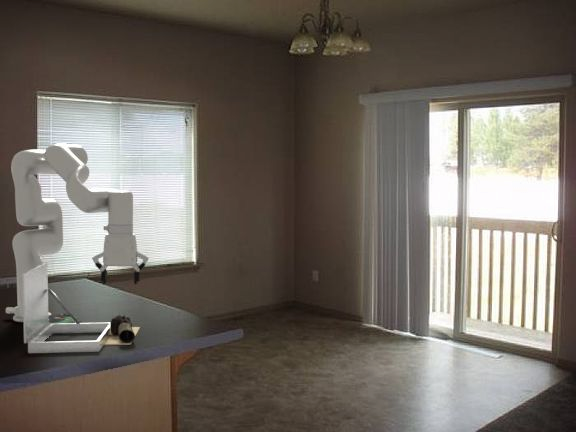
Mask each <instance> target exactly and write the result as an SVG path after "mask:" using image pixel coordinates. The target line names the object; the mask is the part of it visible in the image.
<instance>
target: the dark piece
mask: <svg viewBox="0 0 576 432" xmlns="http://www.w3.org/2000/svg"><path fill="white" fill-rule="evenodd" d="M110 322H111V323H110V326H111V333H112V334H113V335H119V339H120V341H122V342H124V343H131V342H132V343H133V342H134V340H135V338H136V336H135V334H134V332H133V329H132V327H133V323H132V321H131V318H130V317H129V316H126V315H123V316H122V315H121V314H119V315H116V316H115V317H113V318H111V320H110ZM132 343H131V344H132Z"/></svg>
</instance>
